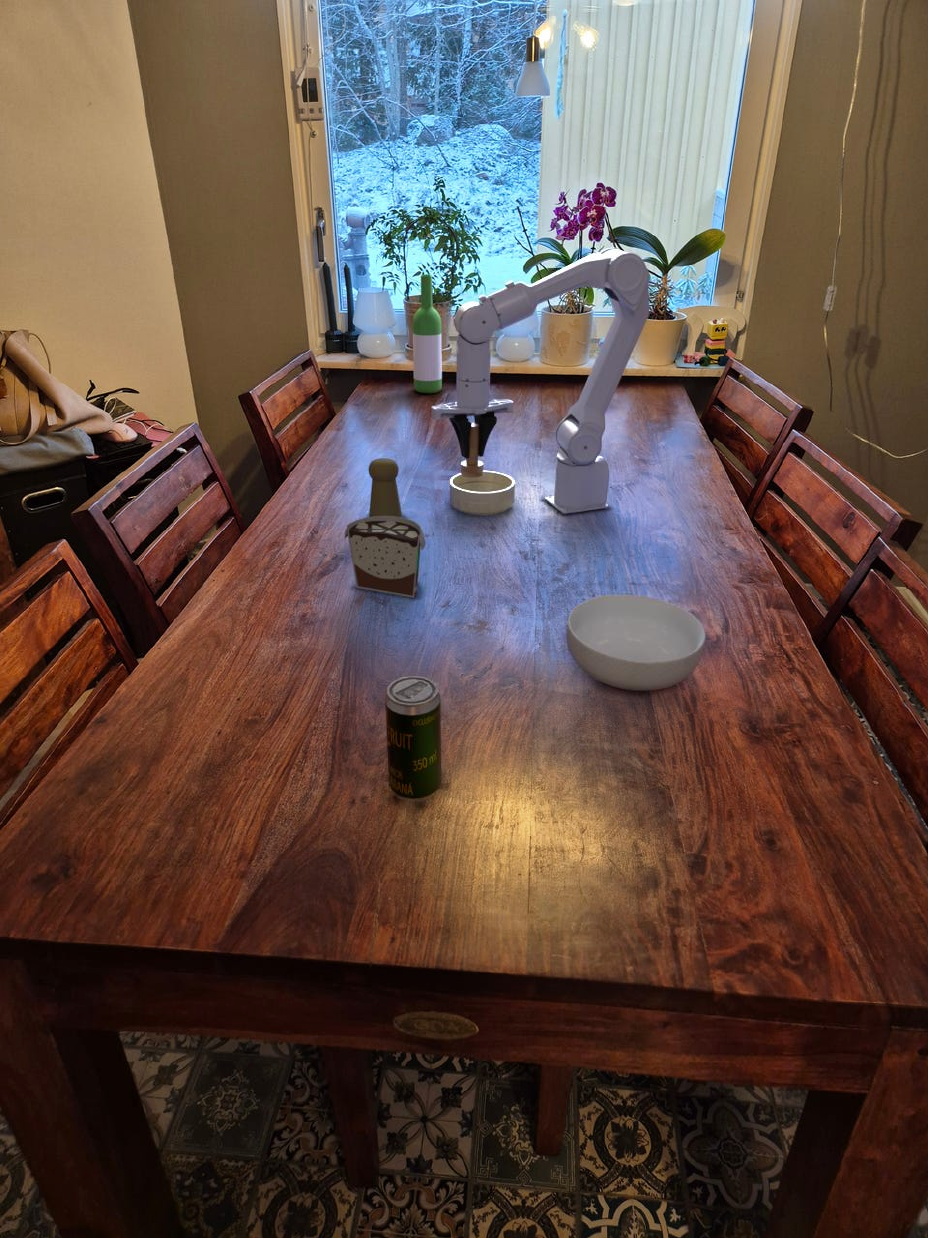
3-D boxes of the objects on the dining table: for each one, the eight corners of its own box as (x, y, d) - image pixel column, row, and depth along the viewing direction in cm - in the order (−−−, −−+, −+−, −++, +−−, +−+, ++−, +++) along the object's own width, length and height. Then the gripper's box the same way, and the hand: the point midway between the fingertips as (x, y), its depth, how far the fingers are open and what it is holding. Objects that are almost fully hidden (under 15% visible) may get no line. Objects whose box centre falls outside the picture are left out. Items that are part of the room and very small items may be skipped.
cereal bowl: (670, 729, 93) (679, 677, 89) (540, 684, 100) (543, 635, 97) (715, 661, 105) (724, 614, 102) (596, 627, 113) (601, 581, 110)
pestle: (478, 469, 149) (479, 420, 145) (486, 476, 146) (487, 426, 142) (457, 471, 148) (458, 422, 144) (465, 478, 145) (466, 428, 140)
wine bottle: (411, 393, 225) (408, 276, 210) (417, 386, 232) (415, 272, 217) (438, 394, 224) (438, 277, 209) (444, 388, 231) (443, 273, 216)
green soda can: (414, 762, 87) (411, 668, 81) (452, 784, 84) (452, 688, 78) (378, 788, 84) (372, 691, 78) (416, 812, 81) (413, 713, 75)
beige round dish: (498, 489, 160) (499, 467, 158) (524, 511, 150) (525, 488, 148) (441, 497, 156) (440, 474, 154) (463, 520, 146) (463, 496, 144)
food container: (438, 581, 125) (437, 520, 120) (423, 599, 120) (422, 536, 115) (365, 569, 128) (361, 509, 123) (347, 586, 123) (343, 524, 118)
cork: (397, 527, 143) (395, 466, 138) (364, 524, 144) (361, 464, 139) (406, 514, 148) (404, 455, 143) (374, 511, 149) (371, 453, 144)
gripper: (441, 386, 133) (441, 467, 140) (521, 380, 138) (518, 458, 144) (427, 377, 139) (428, 454, 146) (505, 371, 143) (502, 446, 150)
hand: (472, 455), depth 145 cm, fingers closed on pestle, 2 cm apart
